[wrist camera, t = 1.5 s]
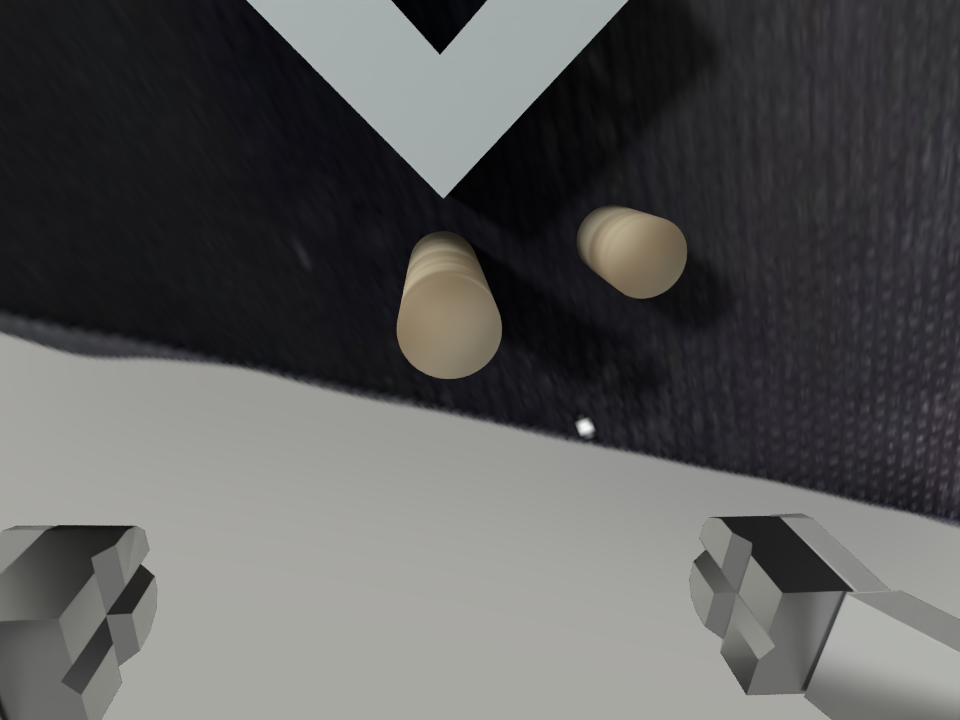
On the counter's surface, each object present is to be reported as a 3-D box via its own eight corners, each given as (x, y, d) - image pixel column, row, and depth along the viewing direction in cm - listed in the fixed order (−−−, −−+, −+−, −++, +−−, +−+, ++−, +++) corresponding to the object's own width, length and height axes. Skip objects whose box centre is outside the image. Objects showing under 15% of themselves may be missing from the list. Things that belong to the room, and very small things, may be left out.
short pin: (655, 238, 32) (702, 258, 26) (605, 285, 33) (640, 314, 27) (614, 189, 31) (654, 199, 25) (562, 239, 31) (590, 259, 26)
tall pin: (491, 264, 32) (523, 328, 20) (444, 311, 32) (451, 397, 21) (442, 216, 30) (448, 256, 19) (395, 266, 31) (374, 332, 20)
